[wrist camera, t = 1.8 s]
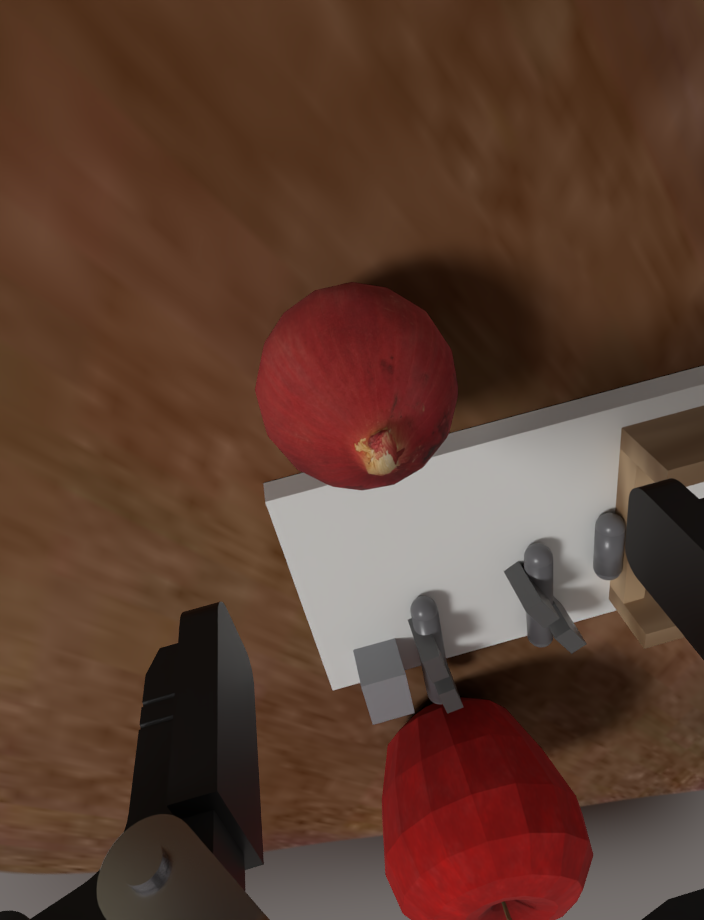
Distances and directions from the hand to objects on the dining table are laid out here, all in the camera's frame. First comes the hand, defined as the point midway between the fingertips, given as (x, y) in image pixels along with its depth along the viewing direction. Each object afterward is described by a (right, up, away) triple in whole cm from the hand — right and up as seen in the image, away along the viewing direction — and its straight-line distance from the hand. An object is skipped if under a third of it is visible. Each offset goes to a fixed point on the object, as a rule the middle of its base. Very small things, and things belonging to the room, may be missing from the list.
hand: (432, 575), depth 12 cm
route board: (+8, -1, +16) cm, 18 cm away
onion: (-2, +6, +9) cm, 12 cm away
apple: (+4, -12, +23) cm, 26 cm away
